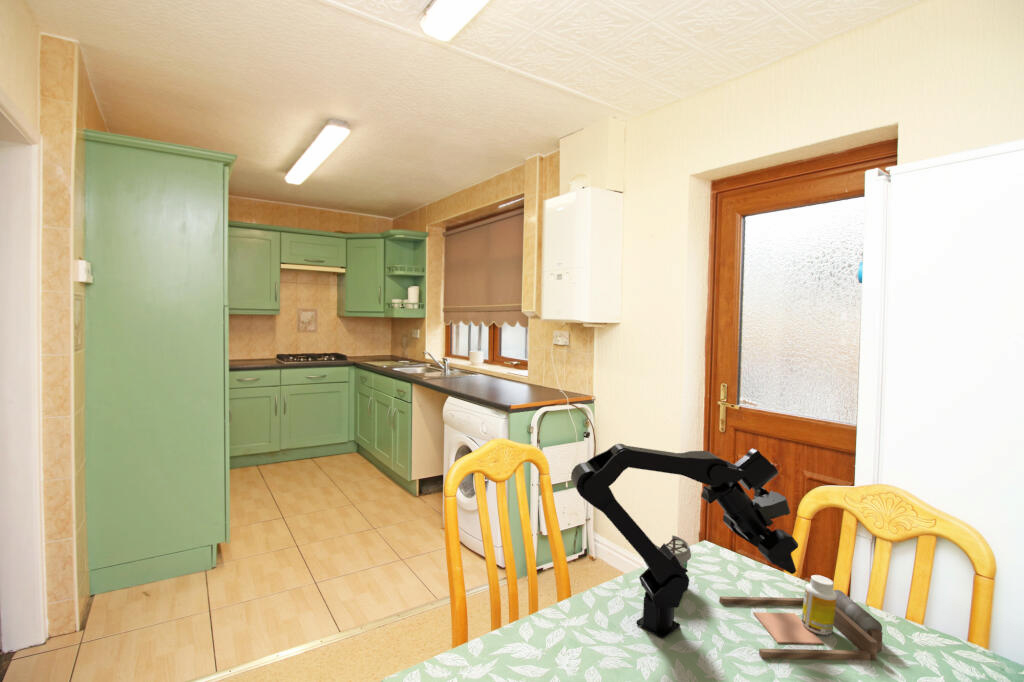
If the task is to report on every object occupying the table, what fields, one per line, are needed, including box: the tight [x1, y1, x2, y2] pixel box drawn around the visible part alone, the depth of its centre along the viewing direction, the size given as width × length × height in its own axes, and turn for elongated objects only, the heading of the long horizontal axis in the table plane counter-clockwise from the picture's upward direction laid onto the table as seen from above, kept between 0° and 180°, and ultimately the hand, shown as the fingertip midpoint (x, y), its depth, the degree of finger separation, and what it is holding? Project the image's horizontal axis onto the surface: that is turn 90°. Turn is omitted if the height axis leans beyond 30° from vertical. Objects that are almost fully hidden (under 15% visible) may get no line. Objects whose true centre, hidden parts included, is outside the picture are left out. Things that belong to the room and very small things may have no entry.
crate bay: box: [719, 589, 884, 661], centre depth 105 cm, size 25×19×5 cm
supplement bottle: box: [801, 574, 837, 636], centre depth 104 cm, size 6×6×10 cm
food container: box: [665, 534, 692, 574], centre depth 119 cm, size 12×6×10 cm, turn 143°
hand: (780, 561), depth 106 cm, fingers open, 9 cm apart
